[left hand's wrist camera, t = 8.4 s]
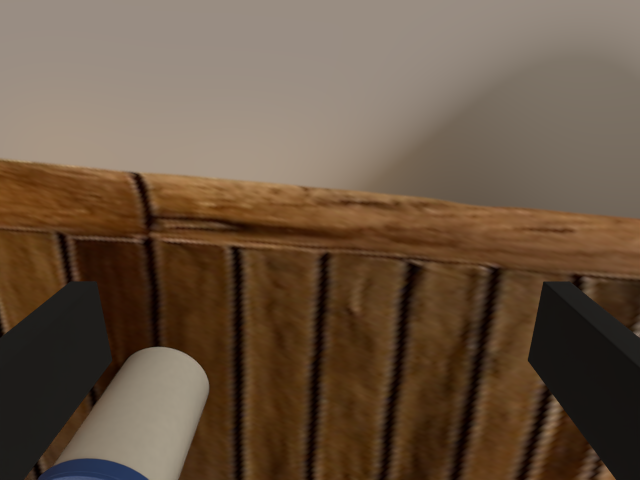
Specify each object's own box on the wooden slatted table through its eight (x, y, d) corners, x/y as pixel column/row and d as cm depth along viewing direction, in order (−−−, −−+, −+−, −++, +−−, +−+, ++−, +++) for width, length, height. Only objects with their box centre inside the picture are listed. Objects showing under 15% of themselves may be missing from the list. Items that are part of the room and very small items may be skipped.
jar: (100, 372, 47) (-2, 507, 32) (172, 331, 45) (99, 454, 30) (157, 432, 50) (88, 582, 35) (226, 396, 48) (185, 538, 33)
